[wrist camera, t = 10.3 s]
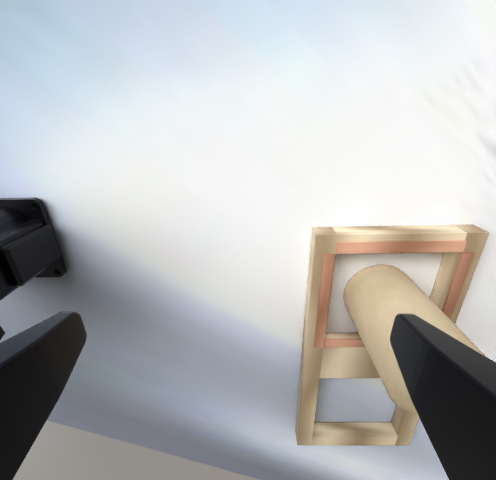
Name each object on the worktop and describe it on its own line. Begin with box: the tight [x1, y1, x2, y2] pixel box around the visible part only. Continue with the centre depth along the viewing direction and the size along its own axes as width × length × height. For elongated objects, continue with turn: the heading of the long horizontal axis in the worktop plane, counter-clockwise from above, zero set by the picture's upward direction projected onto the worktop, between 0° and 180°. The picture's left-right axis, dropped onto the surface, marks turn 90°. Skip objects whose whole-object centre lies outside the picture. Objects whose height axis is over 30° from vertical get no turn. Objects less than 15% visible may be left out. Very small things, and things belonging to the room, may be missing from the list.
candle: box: [344, 265, 486, 416], centre depth 18 cm, size 6×6×10 cm
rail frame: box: [295, 225, 489, 445], centre depth 25 cm, size 12×25×2 cm, turn 1°
